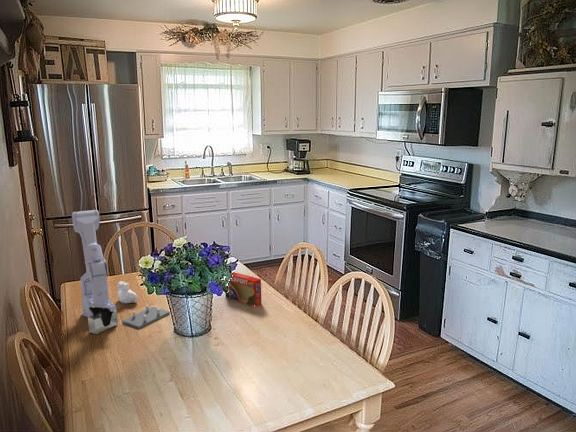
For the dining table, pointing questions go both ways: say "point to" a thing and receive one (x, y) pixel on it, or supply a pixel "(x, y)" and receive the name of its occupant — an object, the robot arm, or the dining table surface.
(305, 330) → the dining table surface
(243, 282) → the toy box
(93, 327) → the block
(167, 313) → the pin tray
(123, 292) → the bust
